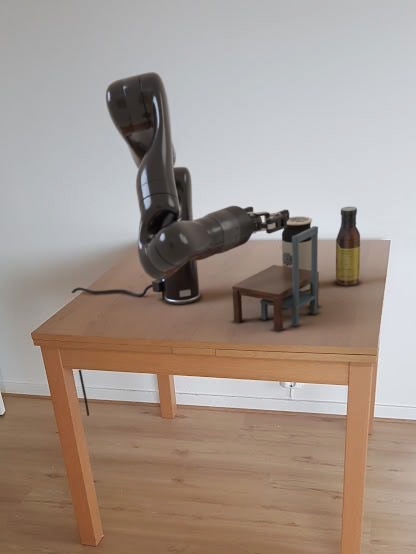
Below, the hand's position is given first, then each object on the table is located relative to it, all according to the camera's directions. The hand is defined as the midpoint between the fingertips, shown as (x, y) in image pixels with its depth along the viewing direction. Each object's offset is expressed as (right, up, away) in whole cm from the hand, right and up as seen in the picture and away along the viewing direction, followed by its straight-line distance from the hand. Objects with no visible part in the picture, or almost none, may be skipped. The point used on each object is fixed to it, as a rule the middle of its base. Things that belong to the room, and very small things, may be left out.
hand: (269, 213), depth 139 cm
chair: (+7, -17, +26) cm, 32 cm away
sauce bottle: (+25, -5, +44) cm, 51 cm away
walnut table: (+4, -16, +28) cm, 33 cm away
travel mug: (+12, -6, +44) cm, 46 cm away
